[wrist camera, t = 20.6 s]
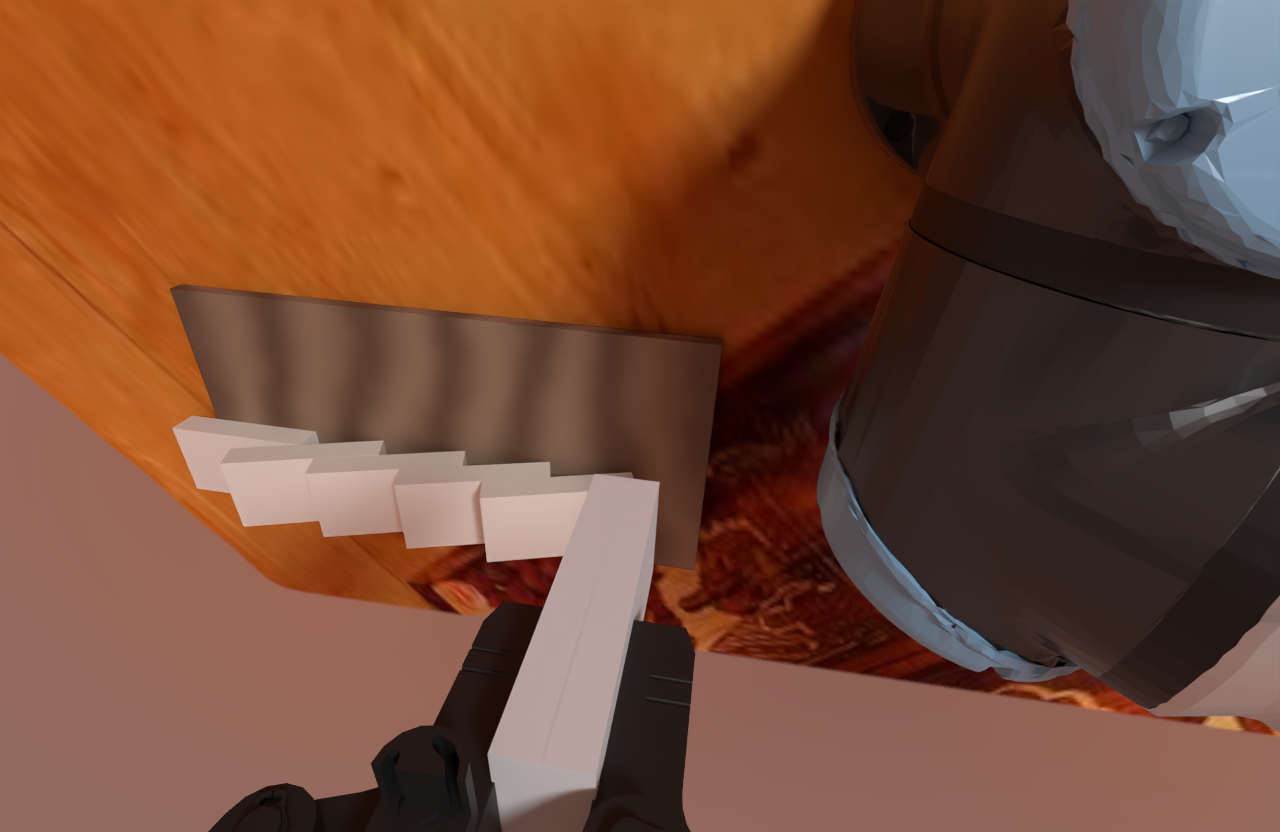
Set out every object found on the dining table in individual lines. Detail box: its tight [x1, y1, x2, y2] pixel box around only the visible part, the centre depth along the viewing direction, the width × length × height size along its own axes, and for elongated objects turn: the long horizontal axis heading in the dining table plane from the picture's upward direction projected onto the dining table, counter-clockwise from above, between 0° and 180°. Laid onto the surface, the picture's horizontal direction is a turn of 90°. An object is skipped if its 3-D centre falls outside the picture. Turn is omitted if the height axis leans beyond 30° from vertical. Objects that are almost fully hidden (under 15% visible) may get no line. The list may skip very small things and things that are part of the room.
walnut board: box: [170, 285, 723, 570], centre depth 46 cm, size 40×20×1 cm, turn 87°
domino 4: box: [394, 462, 551, 549], centre depth 45 cm, size 2×6×11 cm
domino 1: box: [172, 416, 319, 493], centre depth 49 cm, size 2×6×11 cm
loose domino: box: [480, 472, 633, 562], centre depth 45 cm, size 2×6×11 cm
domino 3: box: [305, 451, 467, 537], centre depth 46 cm, size 2×6×11 cm
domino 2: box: [220, 440, 387, 527], centre depth 47 cm, size 2×6×11 cm
